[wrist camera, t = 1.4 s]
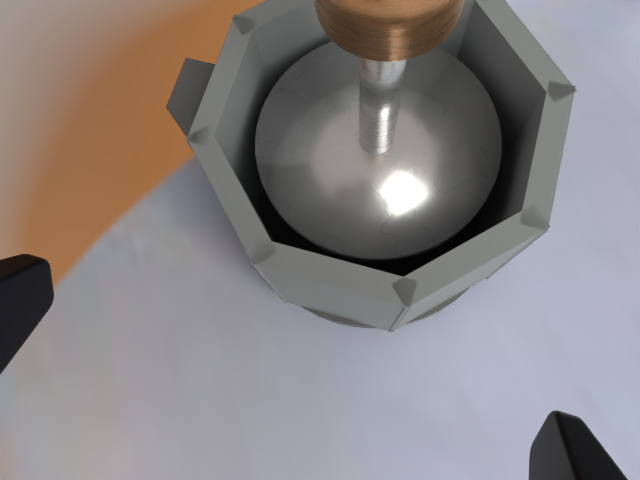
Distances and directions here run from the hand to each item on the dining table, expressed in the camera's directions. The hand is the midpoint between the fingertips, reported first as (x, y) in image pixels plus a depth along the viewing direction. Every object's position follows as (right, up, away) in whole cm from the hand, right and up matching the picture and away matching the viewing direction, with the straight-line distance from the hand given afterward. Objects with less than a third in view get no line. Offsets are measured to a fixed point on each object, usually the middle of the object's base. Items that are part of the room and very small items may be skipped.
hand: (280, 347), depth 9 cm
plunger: (+3, +5, +9) cm, 11 cm away
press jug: (+3, +4, +15) cm, 16 cm away
